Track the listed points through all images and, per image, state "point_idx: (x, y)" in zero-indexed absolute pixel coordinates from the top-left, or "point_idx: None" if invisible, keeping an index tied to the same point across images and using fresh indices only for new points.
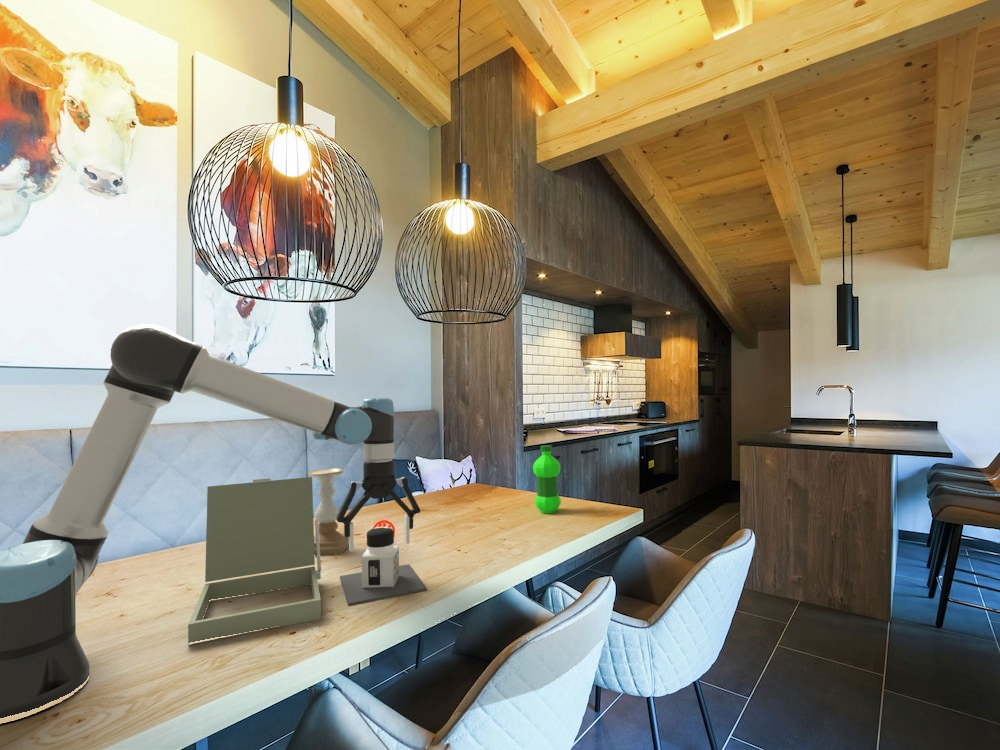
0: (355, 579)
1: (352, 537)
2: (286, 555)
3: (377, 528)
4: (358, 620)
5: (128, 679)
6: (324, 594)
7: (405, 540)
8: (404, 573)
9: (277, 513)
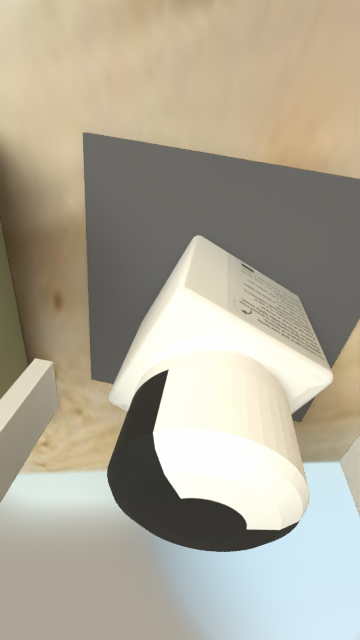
0: (139, 226)
1: (10, 475)
2: None
3: (189, 503)
4: (106, 436)
5: None
6: (31, 270)
7: (355, 458)
8: (327, 291)
9: None
